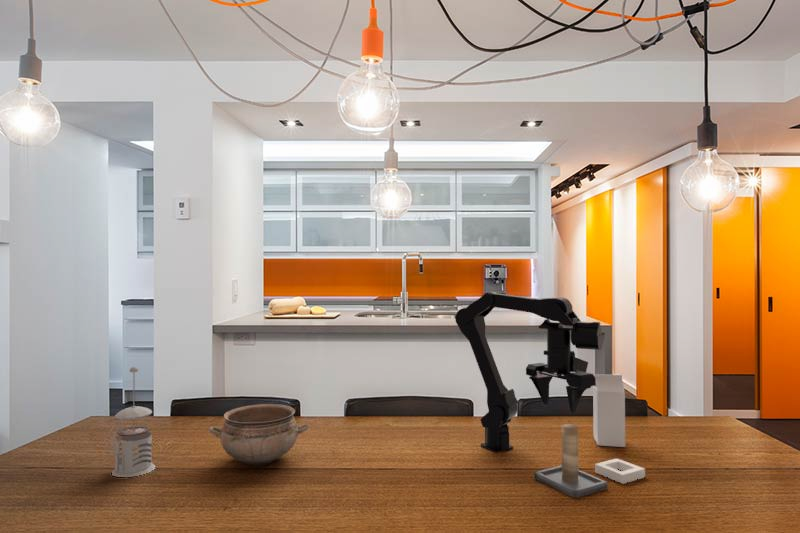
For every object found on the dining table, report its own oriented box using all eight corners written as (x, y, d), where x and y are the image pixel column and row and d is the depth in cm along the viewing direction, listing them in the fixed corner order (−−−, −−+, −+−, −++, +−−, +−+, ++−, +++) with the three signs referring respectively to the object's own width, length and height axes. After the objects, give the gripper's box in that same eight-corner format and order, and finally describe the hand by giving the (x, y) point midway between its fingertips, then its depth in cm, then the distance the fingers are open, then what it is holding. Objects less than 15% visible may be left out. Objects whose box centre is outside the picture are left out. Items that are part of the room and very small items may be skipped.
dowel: (559, 476, 118) (559, 424, 118) (574, 476, 118) (574, 424, 118) (565, 483, 114) (565, 429, 114) (580, 482, 114) (580, 428, 115)
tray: (534, 478, 119) (534, 472, 119) (566, 470, 124) (566, 464, 124) (574, 498, 108) (574, 491, 108) (607, 488, 113) (607, 481, 113)
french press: (165, 465, 128) (165, 364, 128) (126, 483, 117) (126, 373, 117) (134, 461, 131) (134, 362, 131) (93, 478, 120) (94, 370, 120)
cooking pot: (312, 446, 141) (312, 402, 141) (306, 473, 122) (306, 421, 123) (218, 450, 139) (218, 404, 139) (198, 477, 120) (198, 425, 120)
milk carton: (625, 447, 140) (624, 377, 140) (597, 446, 141) (597, 376, 142) (619, 439, 147) (619, 372, 147) (593, 437, 148) (592, 371, 149)
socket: (595, 472, 123) (594, 463, 123) (616, 466, 126) (616, 458, 126) (622, 483, 116) (622, 474, 116) (645, 477, 119) (645, 468, 120)
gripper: (611, 349, 127) (611, 412, 127) (554, 340, 143) (555, 397, 143) (578, 352, 122) (579, 419, 121) (524, 343, 138) (524, 401, 138)
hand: (559, 408), depth 131 cm, fingers open, 9 cm apart
